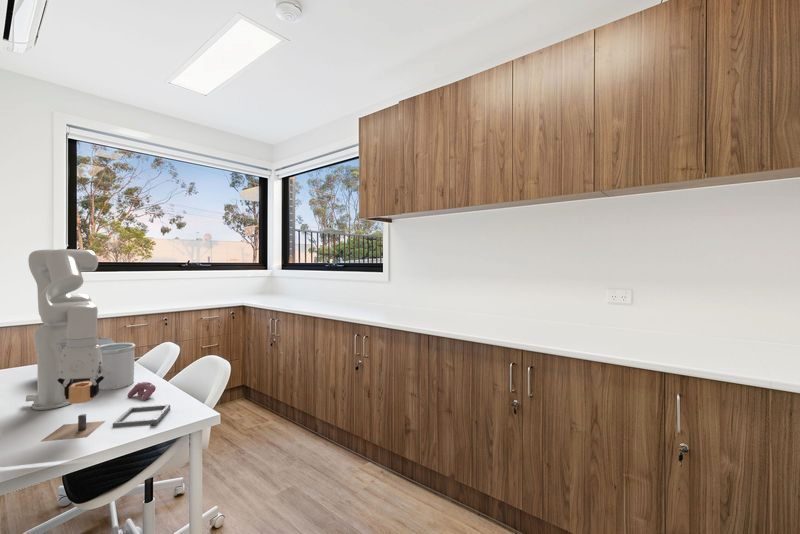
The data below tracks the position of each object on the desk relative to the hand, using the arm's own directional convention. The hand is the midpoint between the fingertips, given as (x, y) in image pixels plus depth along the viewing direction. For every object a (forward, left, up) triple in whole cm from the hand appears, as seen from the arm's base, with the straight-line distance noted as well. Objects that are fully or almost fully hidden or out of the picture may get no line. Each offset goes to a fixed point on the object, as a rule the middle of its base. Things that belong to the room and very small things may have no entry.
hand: (81, 396), depth 121 cm
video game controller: (+7, +30, -12) cm, 33 cm away
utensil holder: (-11, +50, -12) cm, 52 cm away
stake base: (-2, 0, -12) cm, 12 cm away
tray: (+15, +7, -12) cm, 20 cm away
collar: (0, 0, -1) cm, 1 cm away
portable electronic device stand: (-31, +70, -12) cm, 77 cm away
